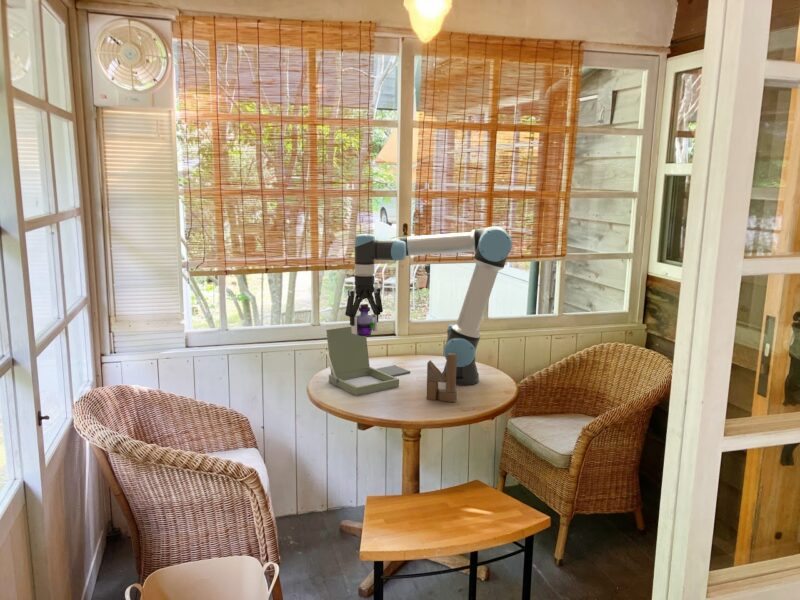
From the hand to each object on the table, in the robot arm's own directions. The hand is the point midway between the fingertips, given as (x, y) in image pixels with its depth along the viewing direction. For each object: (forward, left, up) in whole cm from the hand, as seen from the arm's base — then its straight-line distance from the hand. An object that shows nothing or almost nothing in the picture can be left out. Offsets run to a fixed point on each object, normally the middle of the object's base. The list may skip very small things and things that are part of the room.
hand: (364, 332), depth 244 cm
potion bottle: (0, 0, -1) cm, 1 cm away
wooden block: (-31, -14, -21) cm, 40 cm away
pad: (+7, -19, -21) cm, 29 cm away
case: (+2, 0, -21) cm, 21 cm away
